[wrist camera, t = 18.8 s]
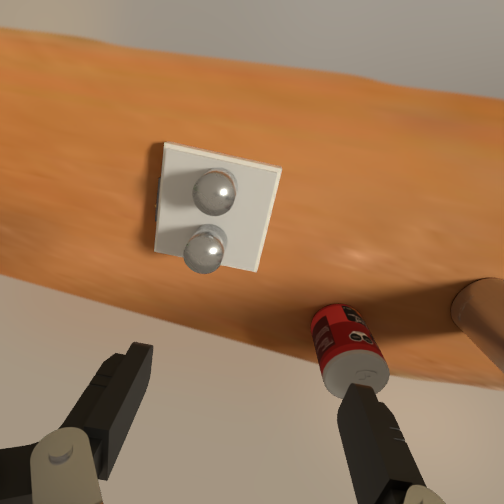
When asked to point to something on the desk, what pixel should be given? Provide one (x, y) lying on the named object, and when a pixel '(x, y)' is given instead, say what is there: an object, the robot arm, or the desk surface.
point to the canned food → (347, 350)
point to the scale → (232, 222)
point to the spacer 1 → (215, 192)
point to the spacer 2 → (205, 249)
